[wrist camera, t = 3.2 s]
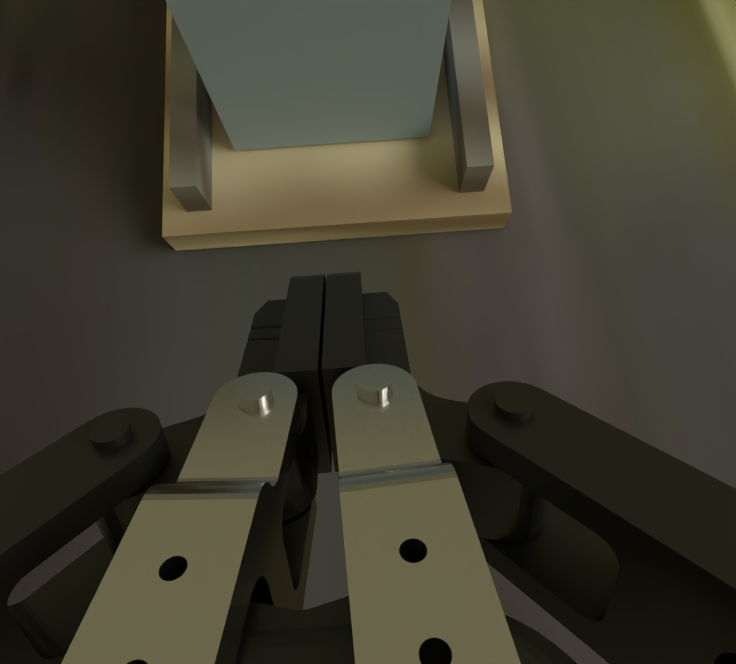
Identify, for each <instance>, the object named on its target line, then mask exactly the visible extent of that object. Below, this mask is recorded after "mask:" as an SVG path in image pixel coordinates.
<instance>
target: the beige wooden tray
mask: <svg viewBox="0 0 736 664" xmlns="http://www.w3.org/2000/svg"><path fill="white" fill-rule="evenodd" d="M511 213H512V210H511V203H510V195H509V188H508V181H507V174H506V167H505V159H504V152H503V145H502V138H501V130H500V123H499V116H498V109H497V102H496V94H495V87H494V80H493V73H492V65H491V58H490V51H489V44H488V37H487V29H486V22H485V15H484V8H483V0H451V6H450V12H449V18H448V24H447V30H446V37H445V43H444V49H443V55H442V61H441V67H440V74H439V80H438V86H437V92H436V98H435V104H434V110H433V117H432V123H431V129H430V135H429V137H418V138H404V139H389V140H375V141H361V142H346V143H332V144H318V145H303V146H289V147H275V148H260V149H246V150H234V148H233V145H232V143H231V141H230V139H229V137H228V135H227V132H226V130H225V128H224V126H223V124H222V122H221V119H220V117H219V115H218V113H217V111H216V109H215V106H214V104H213V102H212V100H211V98H210V96H209V93H208V91H207V89H206V87H205V85H204V83H203V80H202V78H201V76H200V74H199V72H198V70H197V67H196V65H195V63H194V61H193V59H192V57H191V54H190V52H189V50H188V48H187V46H186V44H185V41H184V39H183V37H182V35H181V33H180V31H179V28H178V26H177V24H176V22H175V20H174V18H173V16H172V13H171V11H170V9H169V7H168V5H167V20H166V70H165V119H164V169H163V219H162V237H163V238H164V239H165V240H166V241H167V242H168V243H169V244H170V245H171V246H172V247H173V248H174V249H175V250H176V251H179V250H193V249H207V248H222V247H236V246H251V245H265V244H279V243H294V242H308V241H323V240H337V239H351V238H366V237H380V236H394V235H409V234H423V233H438V232H452V231H466V230H481V229H495V228H504V226H505V224H506V222H507V220H508V219H509V217H510V215H511Z"/></svg>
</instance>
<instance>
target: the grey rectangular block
mask: <svg viewBox="0 0 736 664" xmlns="http://www.w3.org/2000/svg"><path fill="white" fill-rule="evenodd" d="M166 3H167V5H168V7H169V9H170V11H171V13H172V16H173V18H174V20H175V22H176V24H177V26H178V28H179V31H180V33H181V35H182V37H183V39H184V41H185V44H186V46H187V48H188V50H189V52H190V54H191V57H192V59H193V61H194V63H195V65H196V67H197V70H198V72H199V74H200V76H201V78H202V80H203V83H204V85H205V87H206V89H207V91H208V93H209V96H210V98H211V100H212V102H213V104H214V106H215V109H216V111H217V113H218V115H219V117H220V119H221V122H222V124H223V126H224V128H225V130H226V132H227V135H228V137H229V139H230V141H231V143H232V145H233V148H234V150H246V149H260V148H275V147H289V146H303V145H318V144H332V143H346V142H361V141H375V140H389V139H404V138H418V137H429V135H430V129H431V123H432V117H433V110H434V104H435V98H436V92H437V86H438V80H439V74H440V67H441V61H442V55H443V49H444V43H445V37H446V30H447V24H448V18H449V12H450V6H451V0H166Z"/></svg>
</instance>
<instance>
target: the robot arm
mask: <svg viewBox="0 0 736 664" xmlns="http://www.w3.org/2000/svg"><path fill="white" fill-rule="evenodd" d="M332 452H333V460H334V467H335V472H339V476H340V477H339V489H340V501H341V512H342V523H343V534H344V545H345V556H346V567H347V578H348V589H349V596H348V597H344V598H341V599H338V600H335V601H332V602H329V603H326V604H323V605H320V606H317V607H314V608H311V609H306V610H303V604H304V595H305V588H306V581H307V574H308V567H309V560H310V553H311V546H312V539H313V532H314V525H315V518H316V511H317V505H316V499H315V495H316V491H317V477H318V473H328V472H331V471H332ZM550 503H551V504H550ZM553 505H554V506H553ZM556 507H557V508H556ZM559 509H560V510H559ZM562 511H563V512H562ZM565 513H566V514H565ZM568 515H569V516H568ZM571 517H572V518H571ZM574 519H575V520H574ZM577 521H578V522H577ZM95 522H96V523H97V525H98V527H99V529H100V531H101V533H102V535H103V537H104V538H103V539H101V540H100V541H99V542H97V543H96V544H95V545H94V546H92V547H91V548H90V549H89V550H87V551H86V552H85V553H83V554H82V555H81V556H80V557H78V558H77V559H76V560H75V561H73V562H72V563H71V564H69V565H68V566H67V567H66V568H64V569H63V570H62V571H61V572H59V573H58V574H57V575H55V576H54V577H53V578H52V579H50V580H49V581H48V582H47V583H45V584H44V585H43V586H41V587H40V588H39V589H38V590H36V591H35V592H34V593H33V594H31V595H30V596H29V597H27V598H26V599H25V600H23V601H21V602H19V603H17V604H15V605H11V606H7V601H8V598H9V595H10V593H11V591H12V590H13V588H14V587H15V585H16V584H17V583H18V582H19V581H20V580H21V579H22V578H23V577H24V576H25V575H26V574H27V573H29V572H30V571H31V570H33V569H34V568H35V567H37V566H38V565H39V564H41V563H42V562H43V561H45V560H46V559H47V558H49V557H50V556H51V555H53V554H54V553H55V552H56V551H58V550H59V549H60V548H62V547H63V546H64V545H66V544H67V543H68V542H70V541H71V540H72V539H74V538H75V537H76V536H78V535H79V534H80V533H82V532H83V531H84V530H86V529H87V528H88V527H90V526H91V525H92V524H94V523H95ZM580 523H581V524H580ZM583 525H584V526H583ZM586 527H587V528H586ZM589 529H590V530H589ZM592 531H593V532H592ZM595 533H596V534H595ZM487 563H488V564H490V565H491V566H492V567H493V568H494V569H496V570H497V571H498V572H499V573H501V574H502V575H503V576H504V577H505V578H507V579H508V580H509V581H510V582H511V583H513V584H514V585H515V586H516V587H517V588H519V589H520V590H521V591H522V592H524V593H525V594H526V595H527V596H528V597H530V598H531V599H532V600H533V601H534V602H536V603H537V604H538V605H539V606H540V607H542V608H543V609H544V610H545V611H547V612H548V613H549V614H550V615H551V616H553V617H554V618H555V619H556V620H557V621H559V622H560V623H561V624H562V625H563V626H565V627H566V628H567V629H568V630H569V631H571V632H572V633H573V634H574V635H576V636H577V637H578V638H579V639H580V640H582V641H583V642H584V643H585V644H586V645H588V646H589V647H590V648H591V649H592V650H594V651H595V652H596V653H597V654H599V655H600V656H601V657H602V658H603V659H605V660H606V661H607V662H608V663H609V664H736V489H735V488H733V487H731V486H729V485H727V484H725V483H723V482H721V481H719V480H717V479H715V478H713V477H711V476H709V475H708V474H706V473H704V472H702V471H700V470H698V469H696V468H694V467H692V466H690V465H688V464H686V463H684V462H682V461H680V460H678V459H676V458H674V457H672V456H671V455H669V454H667V453H665V452H663V451H661V450H659V449H657V448H655V447H653V446H651V445H649V444H647V443H645V442H643V441H641V440H639V439H637V438H635V437H634V436H632V435H630V434H628V433H626V432H624V431H622V430H620V429H618V428H616V427H614V426H612V425H610V424H608V423H606V422H604V421H602V420H600V419H598V418H597V417H595V416H593V415H591V414H589V413H587V412H585V411H583V410H581V409H579V408H577V407H575V406H573V405H571V404H569V403H567V402H565V401H563V400H561V399H560V398H558V397H556V396H554V395H552V394H550V393H548V392H546V391H544V390H542V389H540V388H538V387H535V386H532V385H529V384H526V383H521V382H512V381H503V382H495V383H491V384H488V385H485V386H483V387H481V388H479V389H478V390H476V391H475V392H474V393H473V394H472V395H471V397H470V399H469V401H468V403H467V402H460V401H453V400H448V399H443V398H440V397H436V396H434V395H431V394H429V393H427V392H426V391H424V390H423V389H421V388H420V387H419V386H418V385H417V383H416V381H415V379H414V378H413V377H412V375H411V373H410V367H409V362H408V356H407V351H406V345H405V339H404V334H403V329H402V322H401V317H400V311H399V306H398V303H397V302H396V301H395V300H394V299H393V298H392V297H391V296H390V295H389V294H388V293H387V292H379V293H365V294H362V287H361V275H360V272H348V273H335V274H327V282H326V278H325V275H324V274H323V275H309V276H295V277H291V278H290V283H289V288H288V293H287V299H286V300H272V301H267V302H266V303H265V304H264V305H263V306H262V307H261V308H260V309H259V310H258V311H257V312H256V313H255V315H254V319H253V323H252V326H251V331H250V333H249V337H248V342H247V344H246V348H245V352H244V355H243V359H242V362H241V366H240V370H239V373H238V377H237V378H236V379H234V380H232V381H230V382H228V383H227V384H225V385H224V386H223V387H222V388H220V389H219V390H218V392H217V393H216V394H215V396H214V398H213V400H212V402H211V404H210V406H209V409H208V411H207V413H206V414H205V415H202V416H200V417H197V418H194V419H191V420H188V421H185V422H181V423H178V424H174V425H171V426H167V427H164V428H162V426H161V423H160V420H159V418H158V417H157V416H156V415H155V414H154V413H153V412H151V411H149V410H146V409H142V408H124V409H118V410H114V411H110V412H107V413H105V414H102V415H100V416H97V417H95V418H94V419H92V420H90V421H88V422H86V423H85V424H83V425H82V426H80V427H78V428H77V429H75V430H73V431H72V432H70V433H69V434H67V435H65V436H64V437H62V438H60V439H59V440H57V441H56V442H54V443H52V444H51V445H49V446H47V447H46V448H44V449H43V450H41V451H39V452H38V453H36V454H34V455H33V456H31V457H30V458H28V459H26V460H25V461H23V462H21V463H20V464H18V465H17V466H15V467H13V468H12V469H10V470H8V471H7V472H5V473H4V474H2V475H0V664H577V663H576V662H575V661H574V660H573V659H572V658H570V657H569V656H568V655H567V654H566V653H565V652H564V651H562V650H561V649H560V648H559V647H558V646H556V645H555V644H554V643H552V642H551V641H550V640H548V639H547V638H545V637H544V636H543V635H541V634H540V633H538V632H537V631H535V630H533V629H532V628H530V627H528V626H526V625H525V624H523V623H521V622H519V621H517V620H515V619H513V618H511V617H508V616H506V615H504V612H503V609H502V606H501V604H500V601H499V598H498V595H497V592H496V589H495V586H494V583H493V580H492V577H491V574H490V571H489V568H488V565H487Z"/></svg>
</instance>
